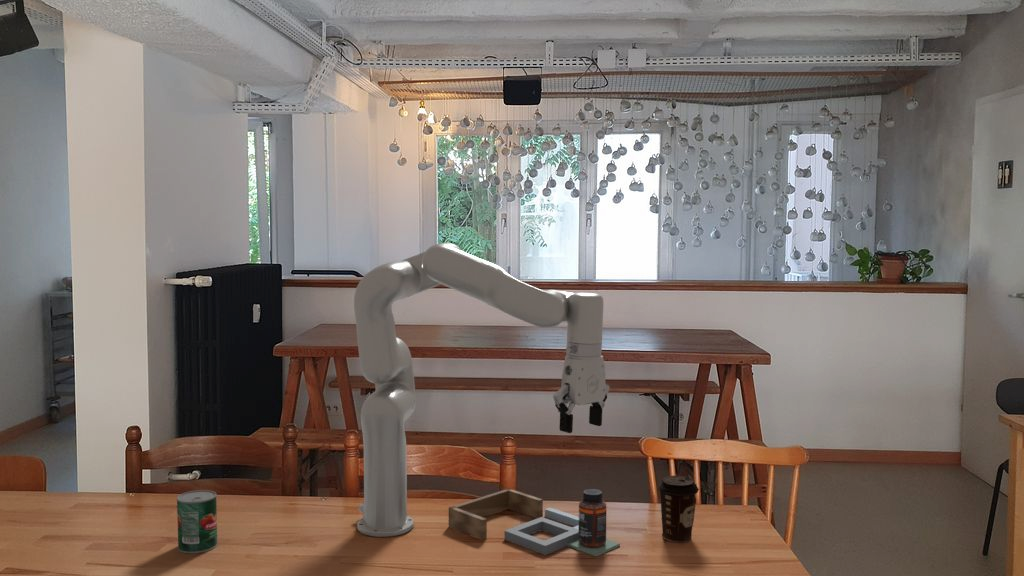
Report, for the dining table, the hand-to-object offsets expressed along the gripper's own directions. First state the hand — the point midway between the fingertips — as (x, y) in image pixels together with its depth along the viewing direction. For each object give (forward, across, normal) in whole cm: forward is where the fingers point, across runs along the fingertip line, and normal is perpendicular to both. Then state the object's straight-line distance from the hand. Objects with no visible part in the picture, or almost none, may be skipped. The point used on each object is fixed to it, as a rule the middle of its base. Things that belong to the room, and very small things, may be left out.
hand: (580, 428), depth 180 cm
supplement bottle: (+24, -1, -5) cm, 25 cm away
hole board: (+25, -6, +4) cm, 26 cm away
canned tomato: (+27, -62, +52) cm, 85 cm away
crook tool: (+25, +3, +7) cm, 26 cm away
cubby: (+25, -6, +18) cm, 32 cm away
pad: (+24, -1, -5) cm, 25 cm away
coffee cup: (+24, +17, -15) cm, 33 cm away
